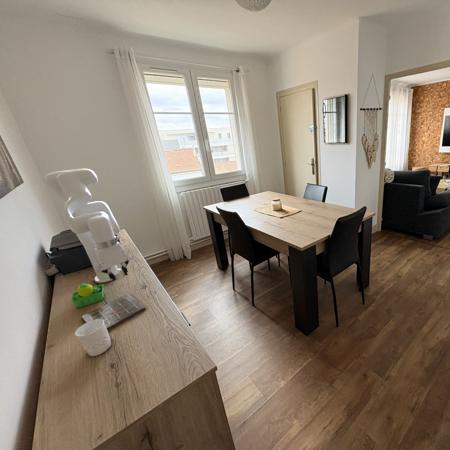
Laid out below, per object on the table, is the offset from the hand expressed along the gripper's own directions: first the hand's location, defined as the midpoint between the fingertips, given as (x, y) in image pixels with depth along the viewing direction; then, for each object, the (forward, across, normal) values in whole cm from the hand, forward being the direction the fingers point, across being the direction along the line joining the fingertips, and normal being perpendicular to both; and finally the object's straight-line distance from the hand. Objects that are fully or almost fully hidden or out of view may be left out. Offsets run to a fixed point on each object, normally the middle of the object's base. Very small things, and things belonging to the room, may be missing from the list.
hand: (119, 276), depth 114 cm
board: (+9, +9, +13) cm, 18 cm away
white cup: (+9, +19, +30) cm, 36 cm away
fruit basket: (+10, +12, -7) cm, 17 cm away
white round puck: (0, 0, 0) cm, 0 cm away
